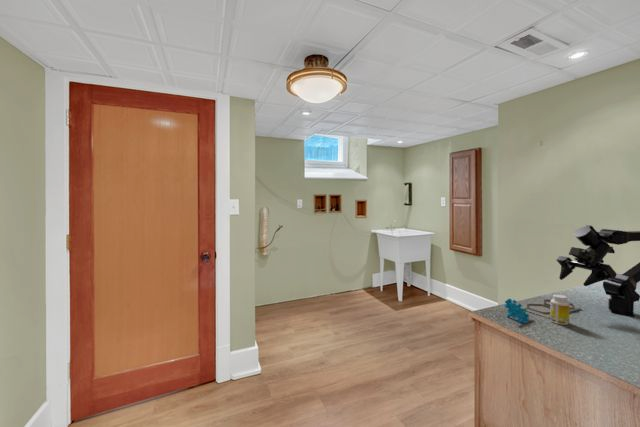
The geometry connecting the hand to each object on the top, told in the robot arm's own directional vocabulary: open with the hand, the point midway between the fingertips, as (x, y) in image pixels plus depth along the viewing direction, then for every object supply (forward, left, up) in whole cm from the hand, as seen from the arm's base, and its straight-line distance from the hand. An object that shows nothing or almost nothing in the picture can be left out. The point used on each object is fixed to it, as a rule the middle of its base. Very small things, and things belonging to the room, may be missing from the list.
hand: (571, 282), depth 113 cm
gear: (+16, +18, -14) cm, 28 cm away
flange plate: (+7, -4, -14) cm, 16 cm away
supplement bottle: (+4, +11, -14) cm, 18 cm away
